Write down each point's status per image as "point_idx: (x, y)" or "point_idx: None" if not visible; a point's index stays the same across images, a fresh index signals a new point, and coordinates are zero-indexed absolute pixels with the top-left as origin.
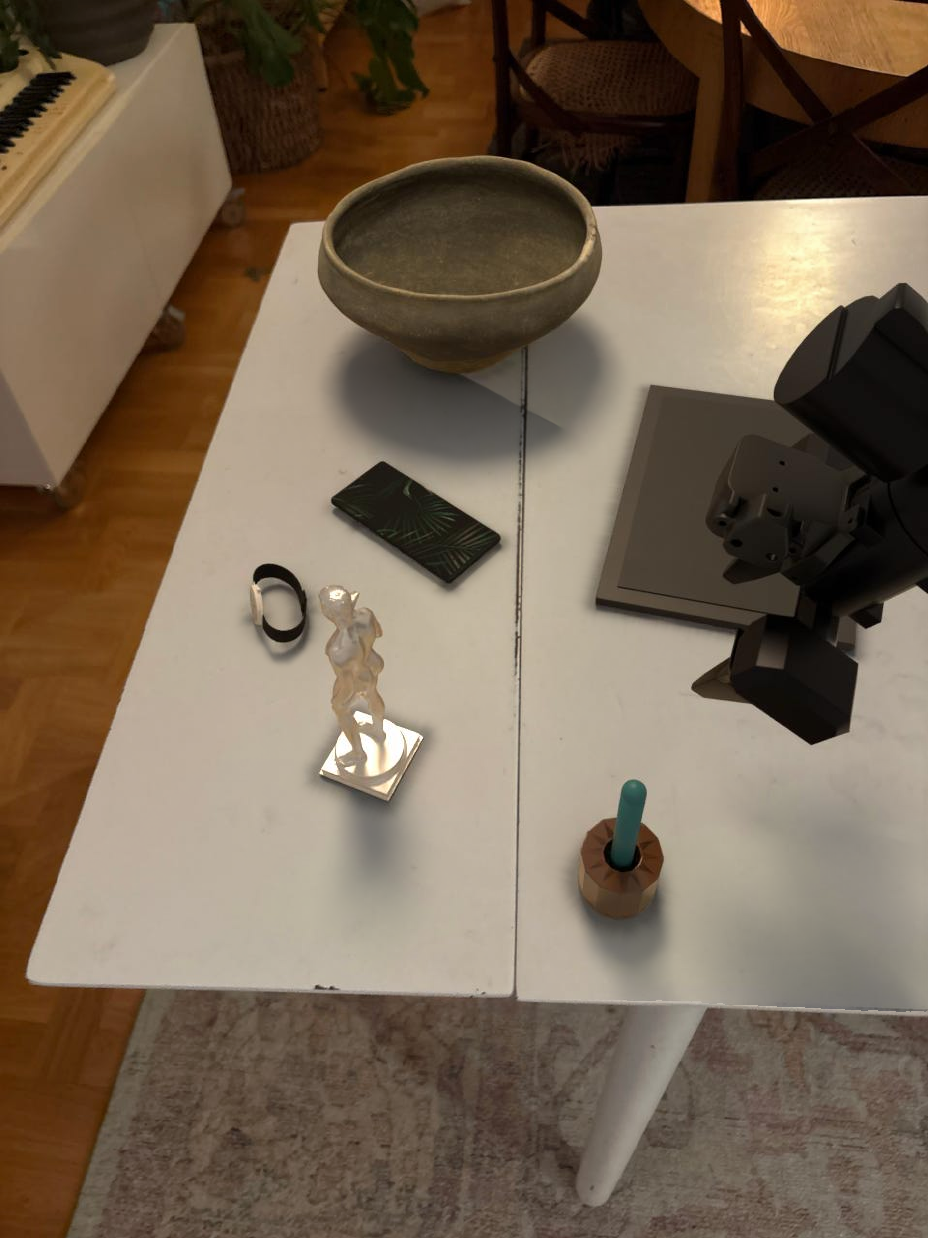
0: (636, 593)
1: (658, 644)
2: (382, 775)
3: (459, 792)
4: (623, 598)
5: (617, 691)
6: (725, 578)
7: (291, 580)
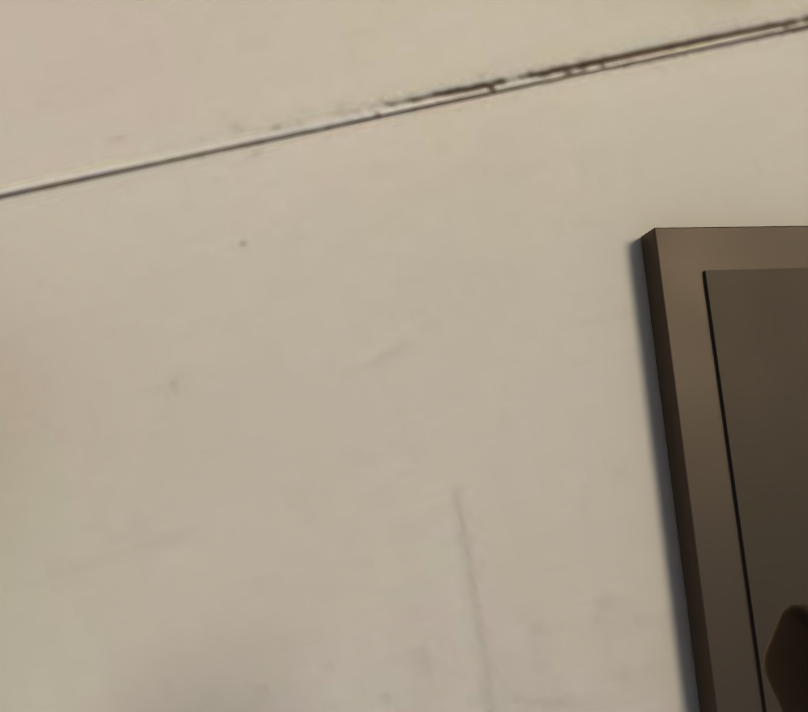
0: (700, 320)
1: (579, 408)
2: None
3: (31, 55)
4: (675, 293)
5: (415, 342)
6: (781, 623)
7: None
